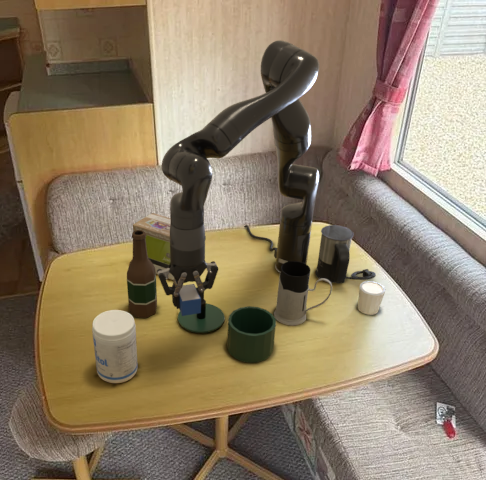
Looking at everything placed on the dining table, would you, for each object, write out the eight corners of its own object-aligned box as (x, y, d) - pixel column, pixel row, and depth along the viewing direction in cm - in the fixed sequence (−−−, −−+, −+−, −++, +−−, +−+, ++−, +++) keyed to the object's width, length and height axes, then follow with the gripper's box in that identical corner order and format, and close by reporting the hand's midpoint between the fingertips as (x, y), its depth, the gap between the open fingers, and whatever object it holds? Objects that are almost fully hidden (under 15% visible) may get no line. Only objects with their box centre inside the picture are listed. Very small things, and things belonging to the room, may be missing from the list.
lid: (173, 310, 151) (172, 291, 147) (216, 303, 154) (217, 285, 150) (184, 338, 141) (183, 319, 137) (230, 330, 144) (231, 311, 140)
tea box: (193, 267, 169) (193, 224, 161) (174, 282, 162) (173, 238, 154) (154, 252, 176) (152, 210, 168) (134, 266, 169) (131, 223, 160)
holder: (278, 302, 154) (283, 256, 146) (329, 314, 150) (337, 268, 142) (269, 320, 147) (274, 273, 139) (322, 333, 143) (330, 285, 135)
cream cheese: (175, 300, 129) (175, 286, 127) (194, 297, 130) (194, 283, 128) (182, 316, 124) (181, 301, 122) (200, 313, 125) (201, 298, 123)
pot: (221, 336, 141) (222, 310, 137) (263, 329, 144) (265, 303, 140) (235, 366, 132) (237, 338, 128) (279, 358, 135) (283, 331, 130)
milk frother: (309, 270, 169) (314, 227, 160) (352, 260, 174) (359, 218, 166) (335, 295, 158) (343, 250, 150) (380, 284, 163) (390, 240, 155)
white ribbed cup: (381, 317, 149) (386, 296, 146) (355, 314, 150) (359, 293, 147) (380, 303, 155) (384, 282, 151) (355, 299, 156) (359, 279, 152)
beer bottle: (162, 306, 152) (160, 229, 139) (148, 321, 146) (144, 243, 133) (138, 298, 155) (133, 222, 142) (123, 314, 149) (116, 235, 136)
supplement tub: (88, 371, 130) (81, 322, 122) (119, 351, 136) (114, 303, 128) (116, 391, 125) (111, 341, 117) (146, 369, 131) (143, 320, 123)
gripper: (214, 228, 122) (213, 291, 132) (151, 236, 119) (154, 300, 129) (224, 245, 116) (222, 309, 126) (157, 254, 113) (160, 319, 123)
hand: (188, 304), depth 127 cm, fingers closed on cream cheese, 4 cm apart
